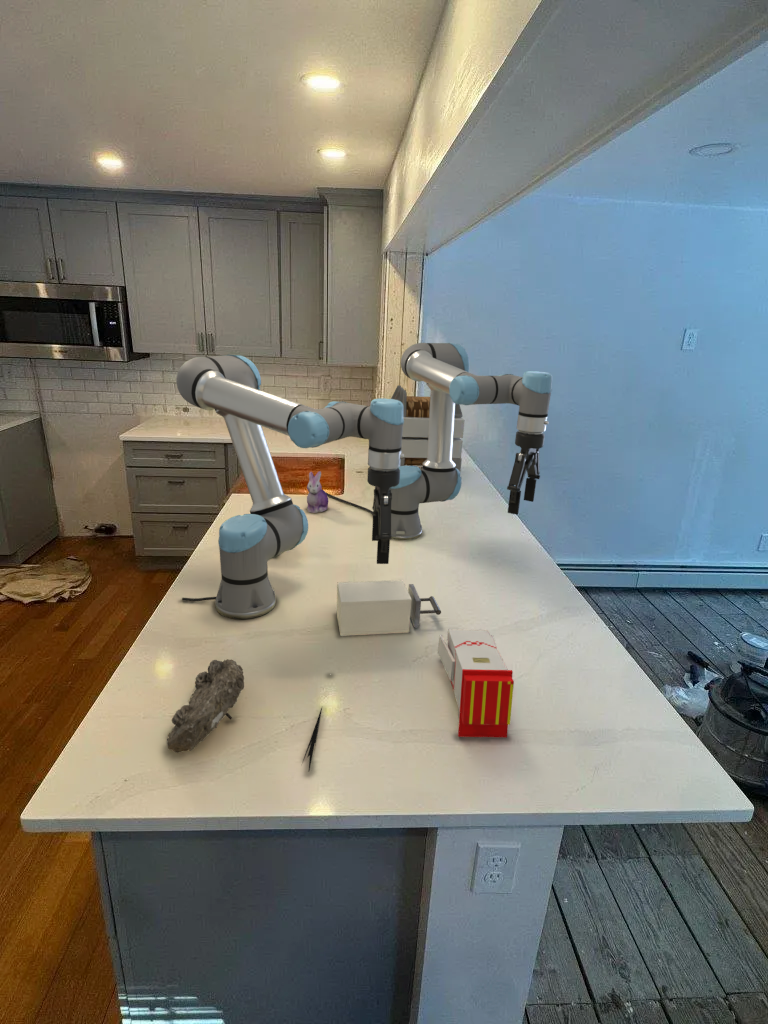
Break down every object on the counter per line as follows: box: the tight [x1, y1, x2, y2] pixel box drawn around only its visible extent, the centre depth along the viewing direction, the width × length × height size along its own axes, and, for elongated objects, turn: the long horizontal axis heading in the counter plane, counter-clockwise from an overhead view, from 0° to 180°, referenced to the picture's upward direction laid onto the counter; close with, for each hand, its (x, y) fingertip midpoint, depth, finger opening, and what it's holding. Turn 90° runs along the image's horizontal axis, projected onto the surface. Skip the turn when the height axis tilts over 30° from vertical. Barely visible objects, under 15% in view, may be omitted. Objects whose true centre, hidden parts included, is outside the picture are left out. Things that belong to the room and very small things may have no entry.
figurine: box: [306, 470, 329, 514], centre depth 217 cm, size 9×10×15 cm
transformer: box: [390, 384, 465, 475], centre depth 268 cm, size 34×33×41 cm
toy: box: [437, 628, 515, 738], centre depth 117 cm, size 12×13×30 cm
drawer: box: [407, 583, 442, 628], centre depth 142 cm, size 21×9×7 cm, turn 99°
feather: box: [301, 673, 332, 771], centre depth 108 cm, size 2×28×2 cm
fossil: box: [166, 658, 245, 754], centre depth 106 cm, size 22×10×15 cm
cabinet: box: [336, 579, 411, 637], centre depth 141 cm, size 17×10×9 cm, turn 99°
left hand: (379, 551), depth 138 cm, fingers open, 13 cm apart
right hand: (520, 506), depth 158 cm, fingers open, 13 cm apart
